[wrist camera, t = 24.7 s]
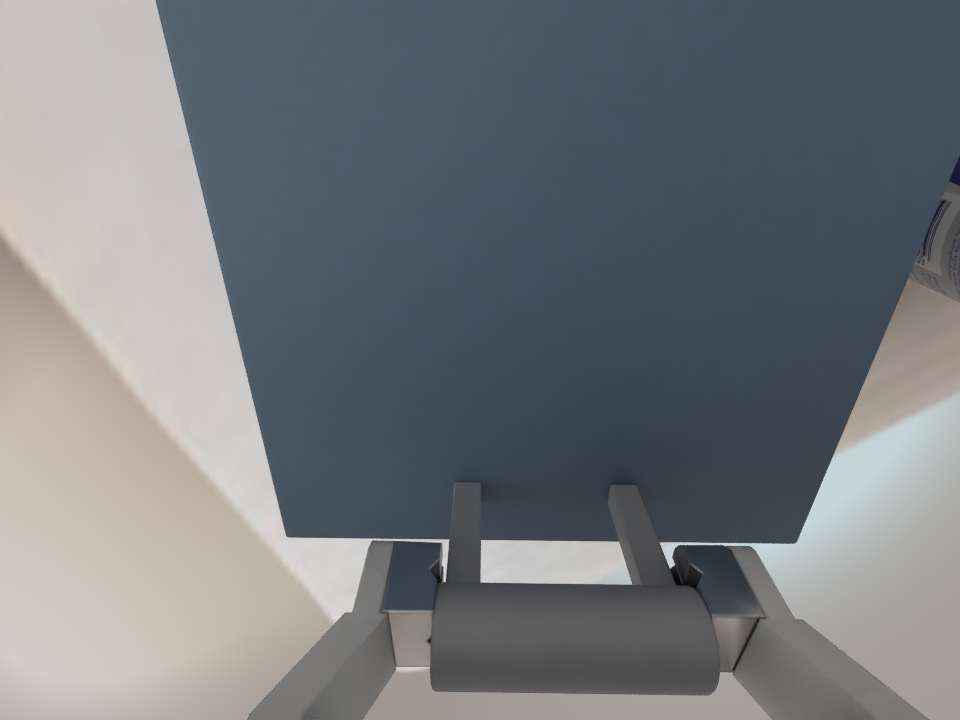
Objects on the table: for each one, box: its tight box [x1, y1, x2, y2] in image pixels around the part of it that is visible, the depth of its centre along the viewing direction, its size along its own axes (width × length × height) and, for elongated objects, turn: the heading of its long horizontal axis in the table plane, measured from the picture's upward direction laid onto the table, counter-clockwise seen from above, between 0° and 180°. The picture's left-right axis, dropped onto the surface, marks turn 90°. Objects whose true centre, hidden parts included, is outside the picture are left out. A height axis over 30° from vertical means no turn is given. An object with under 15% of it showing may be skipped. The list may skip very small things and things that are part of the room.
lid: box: [156, 0, 960, 695], centre depth 8 cm, size 16×14×6 cm
